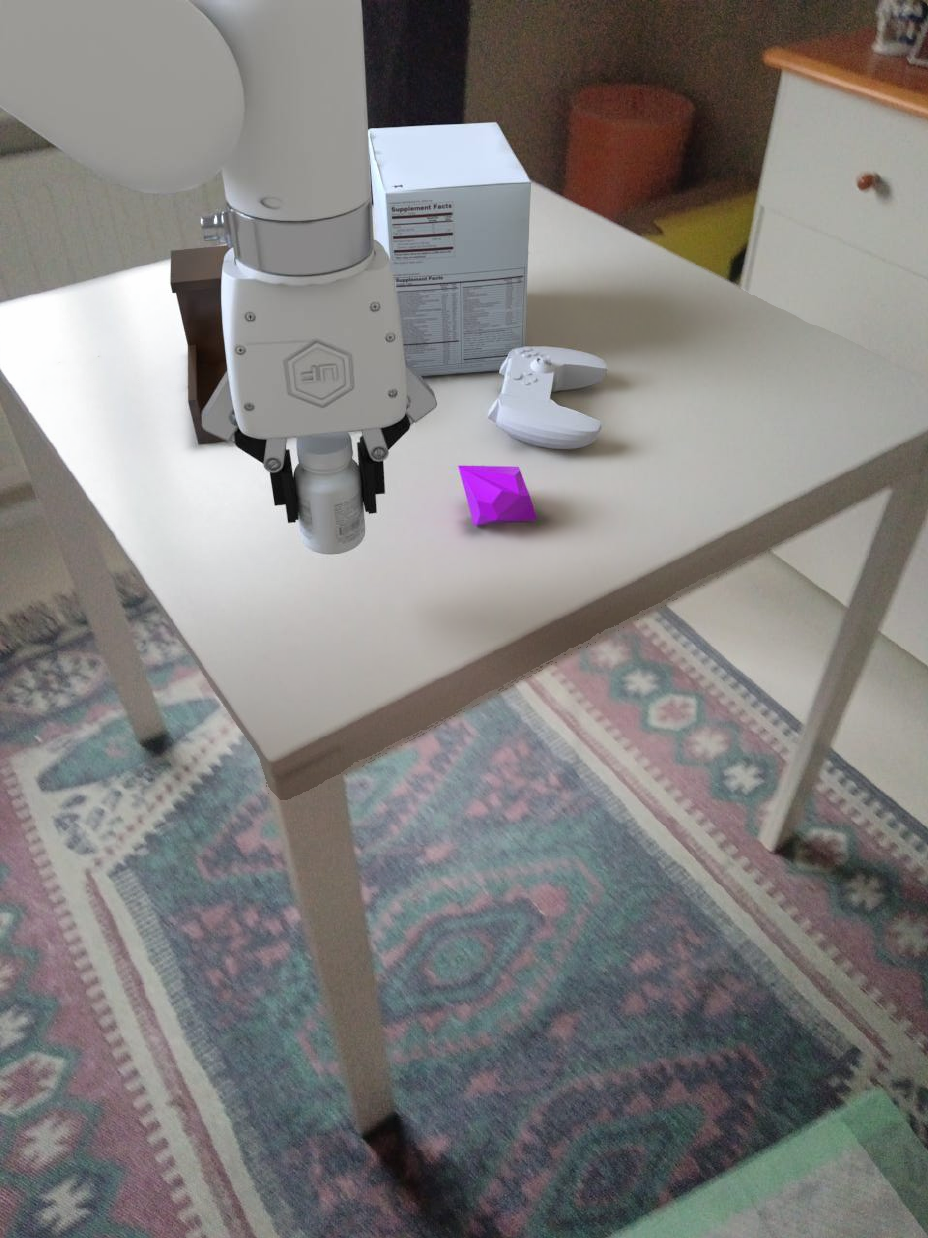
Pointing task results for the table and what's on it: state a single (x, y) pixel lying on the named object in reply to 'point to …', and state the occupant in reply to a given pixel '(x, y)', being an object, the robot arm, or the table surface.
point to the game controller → (546, 396)
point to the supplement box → (453, 242)
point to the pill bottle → (329, 494)
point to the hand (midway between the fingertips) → (330, 503)
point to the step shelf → (201, 324)
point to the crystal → (496, 494)
